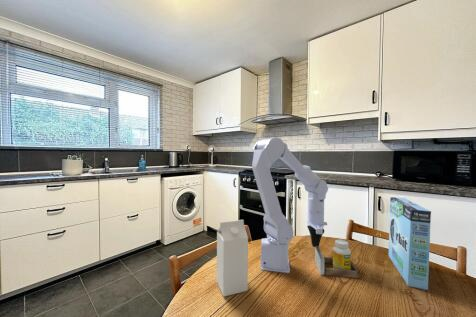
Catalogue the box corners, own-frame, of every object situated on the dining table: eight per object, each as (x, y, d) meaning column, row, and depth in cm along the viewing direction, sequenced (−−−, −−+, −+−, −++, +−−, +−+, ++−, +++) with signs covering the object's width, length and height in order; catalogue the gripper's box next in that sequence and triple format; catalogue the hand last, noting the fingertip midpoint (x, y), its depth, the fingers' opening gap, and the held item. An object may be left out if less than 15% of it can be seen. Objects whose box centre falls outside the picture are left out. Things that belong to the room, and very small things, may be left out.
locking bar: (320, 274, 64) (320, 259, 64) (314, 259, 73) (315, 246, 73) (324, 275, 63) (324, 259, 63) (318, 260, 73) (318, 246, 73)
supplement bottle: (338, 264, 71) (338, 237, 70) (353, 271, 66) (354, 242, 66) (329, 268, 68) (329, 240, 67) (345, 276, 63) (345, 246, 63)
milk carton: (216, 281, 60) (217, 218, 60) (238, 276, 63) (239, 216, 62) (223, 297, 53) (223, 226, 53) (247, 291, 56) (248, 223, 56)
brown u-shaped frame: (325, 274, 64) (325, 268, 64) (320, 261, 72) (320, 256, 72) (359, 279, 62) (359, 272, 62) (350, 265, 70) (350, 259, 70)
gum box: (388, 256, 76) (389, 196, 76) (404, 259, 74) (406, 198, 74) (407, 286, 59) (409, 208, 58) (430, 291, 57) (432, 210, 56)
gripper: (332, 216, 68) (331, 256, 68) (322, 206, 82) (322, 239, 82) (310, 215, 69) (309, 254, 69) (304, 205, 83) (304, 237, 83)
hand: (315, 246), depth 76 cm, fingers closed
